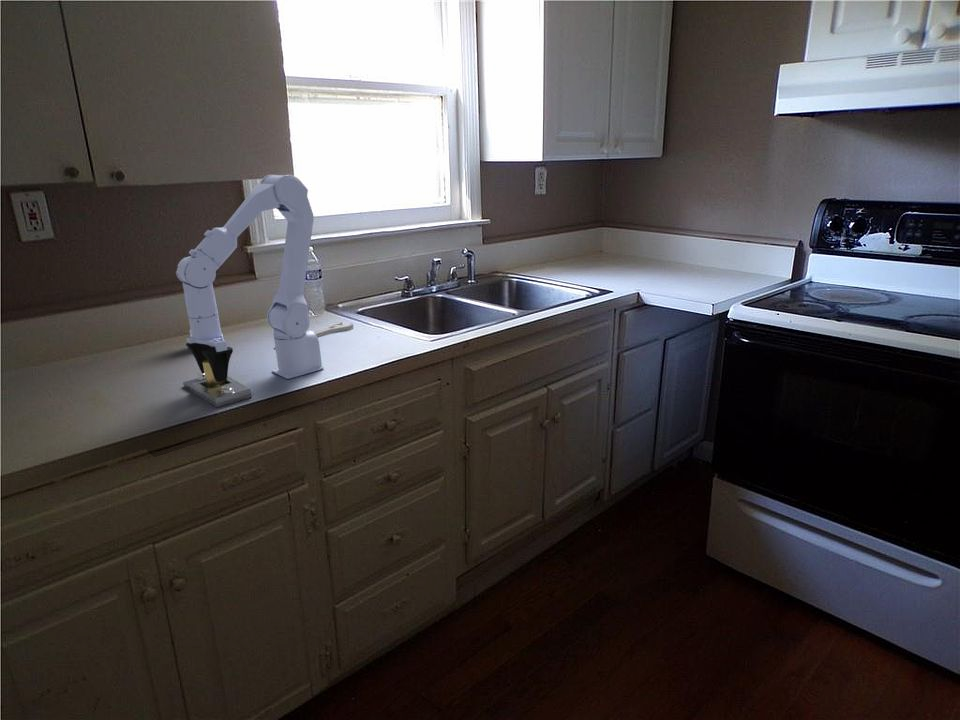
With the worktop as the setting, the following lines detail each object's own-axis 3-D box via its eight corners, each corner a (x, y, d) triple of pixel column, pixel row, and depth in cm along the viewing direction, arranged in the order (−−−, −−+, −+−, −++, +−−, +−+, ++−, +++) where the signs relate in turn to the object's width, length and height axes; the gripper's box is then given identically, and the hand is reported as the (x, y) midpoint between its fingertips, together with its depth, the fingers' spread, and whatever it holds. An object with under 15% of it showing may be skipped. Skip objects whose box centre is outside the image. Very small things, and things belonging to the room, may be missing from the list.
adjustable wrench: (279, 351, 163) (278, 344, 163) (266, 347, 168) (265, 340, 167) (356, 329, 181) (356, 323, 180) (343, 325, 185) (342, 319, 184)
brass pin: (220, 387, 138) (215, 357, 136) (229, 391, 136) (223, 360, 133) (205, 392, 135) (199, 361, 133) (213, 396, 133) (207, 365, 131)
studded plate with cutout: (216, 377, 144) (215, 367, 143) (251, 397, 132) (249, 386, 131) (183, 386, 139) (181, 375, 138) (216, 407, 127) (214, 396, 126)
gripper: (170, 313, 132) (182, 373, 137) (197, 325, 122) (209, 389, 127) (204, 306, 137) (214, 365, 141) (232, 317, 127) (242, 380, 131)
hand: (214, 376), depth 134 cm, fingers open, 7 cm apart
